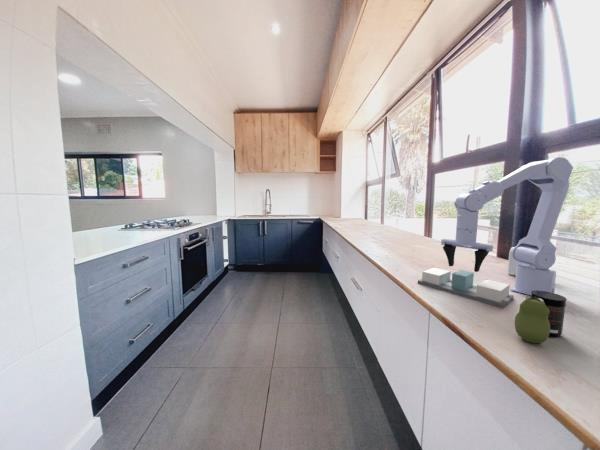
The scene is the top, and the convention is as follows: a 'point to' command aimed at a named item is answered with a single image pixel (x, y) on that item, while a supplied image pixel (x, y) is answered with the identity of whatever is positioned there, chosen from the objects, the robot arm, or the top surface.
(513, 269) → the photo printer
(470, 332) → the top surface
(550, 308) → the supplement container
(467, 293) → the rail plate
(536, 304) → the pear
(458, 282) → the module block
